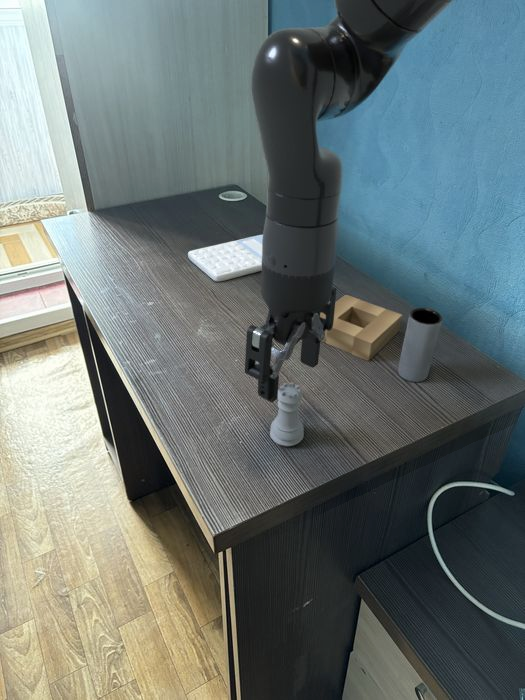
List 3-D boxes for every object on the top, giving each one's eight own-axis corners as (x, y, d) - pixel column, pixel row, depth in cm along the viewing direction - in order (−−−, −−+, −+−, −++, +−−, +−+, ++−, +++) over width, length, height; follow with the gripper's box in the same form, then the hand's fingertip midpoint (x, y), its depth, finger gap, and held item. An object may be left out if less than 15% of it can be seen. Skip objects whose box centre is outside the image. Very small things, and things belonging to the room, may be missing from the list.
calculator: (186, 258, 110) (185, 249, 109) (265, 239, 119) (265, 232, 118) (215, 283, 101) (215, 275, 100) (298, 261, 110) (299, 253, 109)
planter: (398, 380, 78) (410, 322, 72) (396, 362, 81) (408, 306, 75) (429, 384, 77) (444, 325, 71) (426, 366, 81) (440, 309, 75)
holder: (398, 332, 89) (402, 314, 87) (368, 361, 81) (371, 343, 79) (343, 311, 94) (345, 294, 92) (310, 336, 87) (312, 319, 85)
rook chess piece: (308, 430, 69) (313, 383, 64) (296, 452, 65) (300, 404, 61) (277, 420, 70) (280, 373, 65) (263, 441, 67) (265, 394, 62)
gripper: (288, 294, 46) (279, 426, 56) (364, 245, 56) (346, 365, 65) (225, 269, 50) (227, 397, 59) (306, 227, 59) (297, 343, 69)
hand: (289, 380), depth 62 cm, fingers open, 8 cm apart
